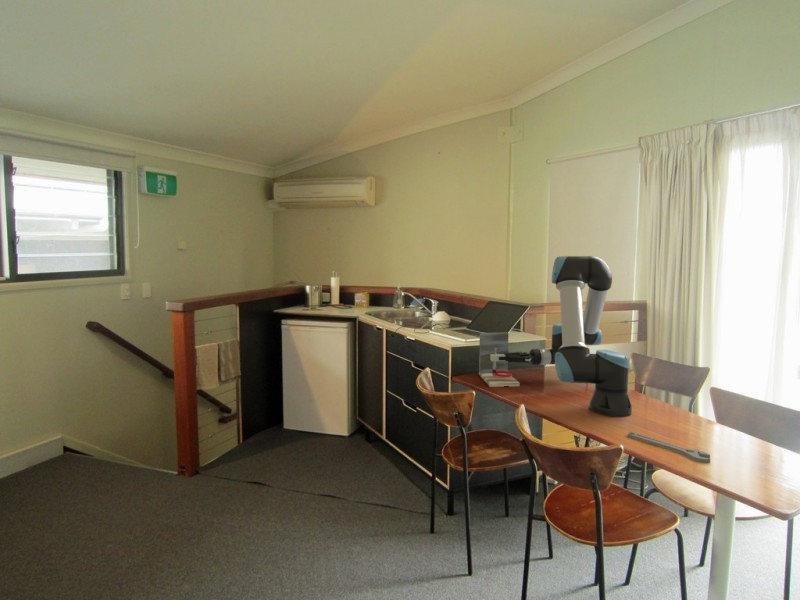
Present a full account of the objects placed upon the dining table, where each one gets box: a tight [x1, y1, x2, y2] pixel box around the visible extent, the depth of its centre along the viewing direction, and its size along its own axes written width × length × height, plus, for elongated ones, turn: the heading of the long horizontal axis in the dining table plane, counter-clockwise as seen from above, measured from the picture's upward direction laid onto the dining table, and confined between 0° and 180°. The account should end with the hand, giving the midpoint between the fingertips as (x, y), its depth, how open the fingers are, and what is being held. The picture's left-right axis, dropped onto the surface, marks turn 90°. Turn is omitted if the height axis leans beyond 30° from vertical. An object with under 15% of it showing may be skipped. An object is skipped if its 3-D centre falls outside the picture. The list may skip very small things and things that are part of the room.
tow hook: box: [492, 348, 513, 377], centre depth 224 cm, size 8×13×9 cm
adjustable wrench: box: [627, 431, 711, 464], centre depth 149 cm, size 25×6×2 cm, turn 31°
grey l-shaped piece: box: [478, 331, 521, 388], centre depth 227 cm, size 22×14×22 cm, turn 3°
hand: (491, 357), depth 224 cm, fingers closed on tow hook
